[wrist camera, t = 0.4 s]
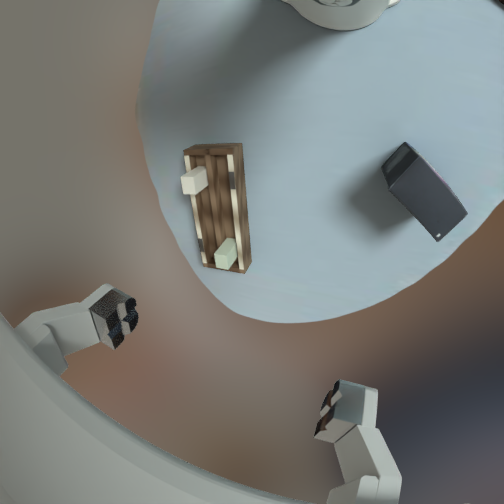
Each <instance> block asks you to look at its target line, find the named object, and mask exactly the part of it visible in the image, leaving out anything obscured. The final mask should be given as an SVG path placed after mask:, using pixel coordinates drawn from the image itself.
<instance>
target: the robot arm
mask: <svg viewBox="0 0 504 504" xmlns="http://www.w3.org/2000/svg"><path fill="white" fill-rule="evenodd" d="M281 1H284V2H286V3H288V4H290V5H292V6H293V7H294V8H295V9H296V10H297V11H298V12H299V13H300V14H301V15H302V16H303V17H305V18H306V19H307V20H309V21H311V22H313V23H315V24H317V25H319V26H322V27H325V28H329V29H334V30H354V29H359V28H363V27H365V26H368V25H370V24H371V23H373V22H374V21H376V20H377V19H378V18H379V17H380V15H381V14H382V13H383V11H384V10H385V9H386V8H388V7H391V6H393V5H396V4H397V3H399V2H400V0H281ZM135 306H136V300H135V299H134V298H132V297H130V296H129V295H127V294H125V293H123V292H122V291H120V290H118V289H116V288H115V287H113V286H111V285H109V284H103V285H102V286H101V287H99V288H98V289H97V290H96V291H95V292H93V293H92V294H91V295H90V296H88V297H87V298H86V299H85V300H83V301H82V302H81V303H77V302H76V303H72V304H68V305H64V306H59V307H55V308H51V309H47V310H42V311H38V312H34V313H32V314H31V315H30V316H29V317H28V318H26V319H25V320H24V321H23V322H22V323H20V324H19V325H18V326H17V327H16V328H15V329H13V328H12V326H11V325H10V324H9V323H8V322H7V320H6V319H5V318H4V317H3V315H2V314H1V313H0V504H316V503H310V502H304V501H300V500H295V499H291V498H287V497H283V496H279V495H275V494H271V493H267V492H264V491H261V490H257V489H254V488H251V487H248V486H245V485H242V484H239V483H236V482H233V481H231V480H228V479H225V478H223V477H220V476H217V475H215V474H213V473H210V472H208V471H205V470H203V469H201V468H199V467H196V466H194V465H192V464H190V463H188V462H186V461H184V460H181V459H179V458H177V457H175V456H173V455H172V454H170V453H168V452H166V451H164V450H162V449H160V448H158V447H157V446H155V445H153V444H151V443H150V442H148V441H146V440H145V439H143V438H141V437H140V436H138V435H136V434H135V433H133V432H131V431H130V430H128V429H127V428H125V427H124V426H122V425H121V424H119V423H118V422H116V421H115V420H113V419H112V418H110V417H109V416H107V415H106V414H105V413H103V412H102V411H101V410H99V409H98V408H97V407H95V406H94V405H93V404H92V403H90V402H89V401H87V400H86V399H85V398H84V397H82V396H81V395H80V394H79V393H78V392H77V391H75V390H74V389H73V388H72V387H71V386H69V385H68V384H67V383H66V382H65V381H64V380H63V379H62V378H60V377H59V376H60V375H61V374H62V373H63V372H64V371H65V370H66V369H67V368H68V363H67V361H66V360H65V358H64V356H66V355H68V354H71V353H73V352H76V351H78V350H81V349H83V348H86V347H89V346H91V345H94V344H96V343H99V342H100V341H101V342H102V343H104V344H106V345H107V346H109V347H111V348H112V349H114V350H115V349H116V348H117V347H118V346H119V345H120V344H121V343H122V342H123V340H124V337H125V335H126V334H130V333H131V332H132V331H133V330H134V329H135V327H136V325H137V323H138V318H139V317H138V313H137V311H136V310H135ZM377 397H378V391H377V389H374V388H370V387H365V386H363V385H359V384H355V383H351V382H347V381H343V380H340V379H339V380H337V381H336V383H335V384H334V388H333V390H330V391H329V392H328V393H327V395H326V397H325V399H324V401H323V403H322V406H321V410H320V414H321V416H322V418H321V419H320V420H319V421H318V423H317V426H316V430H315V433H314V438H316V439H320V440H324V441H327V442H332V443H335V444H334V446H335V450H336V453H337V456H338V460H339V463H340V466H341V470H342V473H343V476H344V480H345V483H346V484H344V485H342V486H340V487H337V488H335V489H333V490H331V491H330V494H329V497H328V500H327V503H326V504H398V501H399V494H400V489H401V482H402V477H401V474H400V472H399V470H398V468H397V466H396V464H395V462H394V460H393V458H392V455H391V454H390V451H389V449H388V447H387V445H386V443H385V441H384V439H383V437H382V435H381V433H380V431H379V429H377V428H375V423H376V411H377Z"/></svg>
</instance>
